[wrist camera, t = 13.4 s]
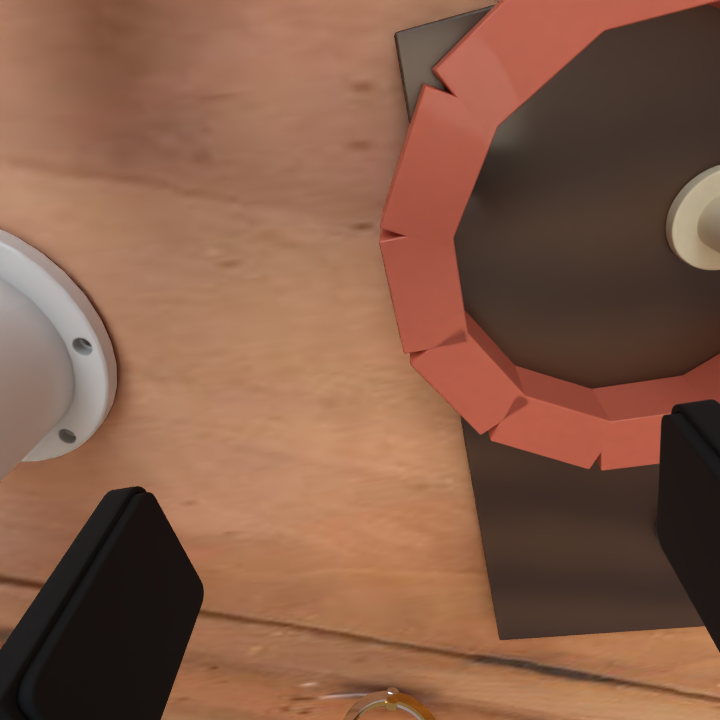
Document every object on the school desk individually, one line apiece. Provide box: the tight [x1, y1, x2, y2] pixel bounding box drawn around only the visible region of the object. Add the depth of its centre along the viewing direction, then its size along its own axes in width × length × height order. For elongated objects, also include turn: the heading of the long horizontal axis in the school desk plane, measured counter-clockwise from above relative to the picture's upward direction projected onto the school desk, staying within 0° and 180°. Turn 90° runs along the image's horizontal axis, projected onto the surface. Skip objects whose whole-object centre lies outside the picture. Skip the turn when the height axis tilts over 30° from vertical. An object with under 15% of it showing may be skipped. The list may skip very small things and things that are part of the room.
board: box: [394, 4, 720, 640], centre depth 23 cm, size 31×19×2 cm, turn 13°
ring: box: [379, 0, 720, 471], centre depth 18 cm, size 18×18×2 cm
